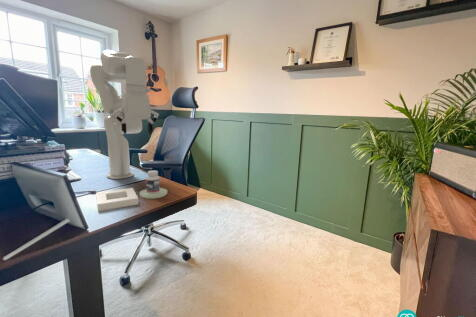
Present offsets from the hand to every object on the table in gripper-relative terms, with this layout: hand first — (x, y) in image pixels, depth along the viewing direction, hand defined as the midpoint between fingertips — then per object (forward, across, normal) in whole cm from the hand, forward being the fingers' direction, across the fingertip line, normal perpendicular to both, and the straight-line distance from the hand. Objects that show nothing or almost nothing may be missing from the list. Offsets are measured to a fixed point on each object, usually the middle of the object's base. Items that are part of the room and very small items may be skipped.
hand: (137, 133), depth 96 cm
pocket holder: (+25, +10, +10) cm, 29 cm away
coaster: (+25, -4, +8) cm, 26 cm away
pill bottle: (+24, -4, +8) cm, 26 cm away
